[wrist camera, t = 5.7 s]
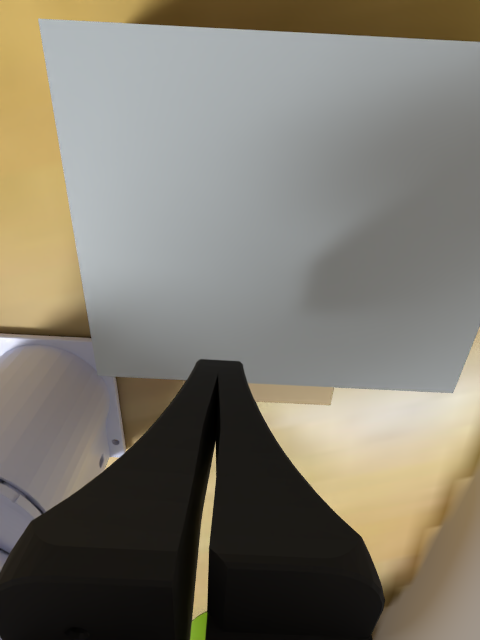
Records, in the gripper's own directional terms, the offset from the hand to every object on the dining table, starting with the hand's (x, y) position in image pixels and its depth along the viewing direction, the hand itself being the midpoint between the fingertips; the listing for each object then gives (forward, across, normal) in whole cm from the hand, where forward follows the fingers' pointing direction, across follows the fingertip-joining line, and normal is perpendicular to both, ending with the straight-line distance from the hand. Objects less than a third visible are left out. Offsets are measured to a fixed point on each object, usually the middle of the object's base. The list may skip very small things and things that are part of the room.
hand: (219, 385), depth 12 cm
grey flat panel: (+4, -2, -3) cm, 6 cm away
